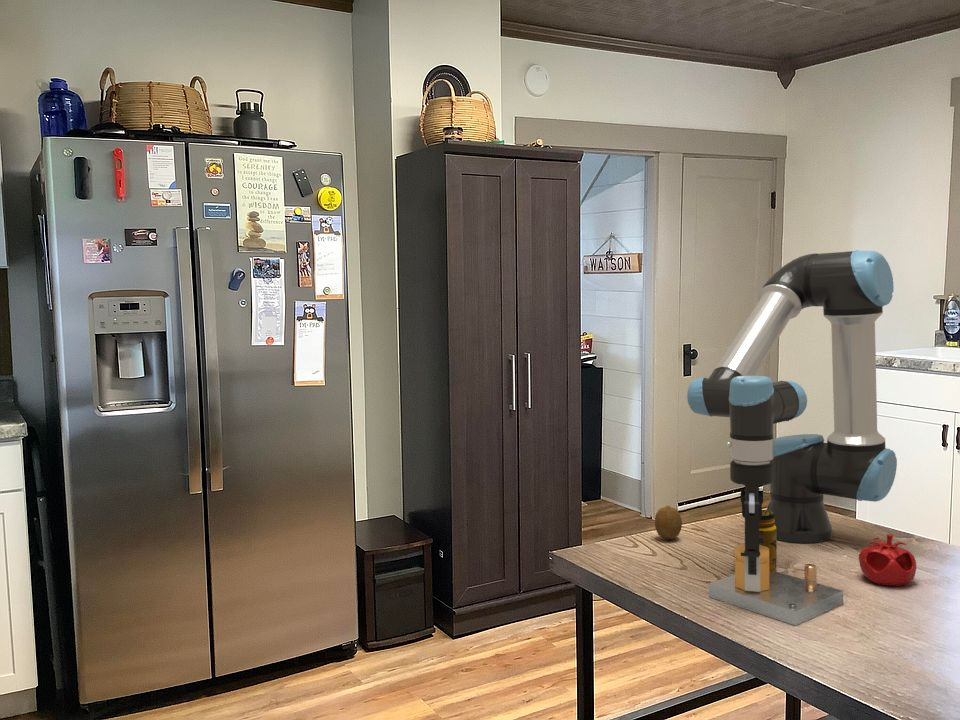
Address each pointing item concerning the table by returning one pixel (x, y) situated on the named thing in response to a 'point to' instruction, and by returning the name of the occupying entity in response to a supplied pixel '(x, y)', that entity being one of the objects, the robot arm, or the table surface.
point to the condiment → (769, 538)
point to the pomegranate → (887, 563)
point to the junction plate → (782, 596)
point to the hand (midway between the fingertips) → (752, 584)
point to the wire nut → (763, 567)
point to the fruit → (668, 522)
